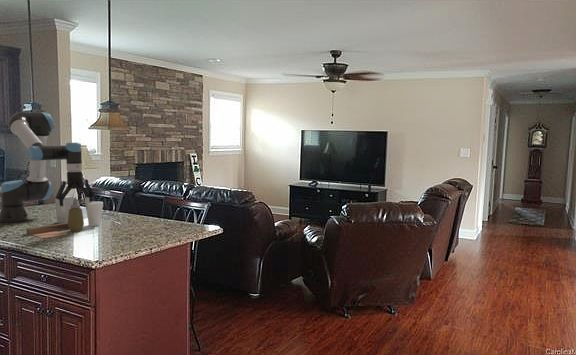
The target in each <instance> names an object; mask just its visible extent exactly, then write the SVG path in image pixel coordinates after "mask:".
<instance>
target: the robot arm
mask: <svg viewBox="0 0 576 355" xmlns="http://www.w3.org/2000/svg"><path fill="white" fill-rule="evenodd" d="M7 125H8V129H9V130H10V132H11V133H12V134H13V135H15V136H17V137H18V138H19V140H20V141H21V142H22V144H24V146H25V147H26V148H27V156H28V159H29V176H28V177H26V180H25V181H26V182H25V181H24V180H22V179H18V180H11V181H6V182H3V183H1V184H0V198H1V199H0V200H1V201H0V202H1V203H0V204H1V207H0V208H1V209H0V223H6V224H8V223H9V224H10V223H11V224H12V223H21V222H25V221H28V220H29V216H28V213H27V210H26V209H25V203H26V202H36V201H39V202H41V201H45V200H48V199H49V198H50V196H52V195H51V194H52V188H53V187H52V183H51V181H49V178H48V177H46V168H47V167H46V166H47V161H57V160H58V161H59V160H65V161H66V171H67V172H66V181H64V180H62V181H60V182H61V183H60V186H59V189H58V191H57V193H56V196H55V197H56V199H59V202H60V206H61V212H65V200H63V199H64V198H65V197H66V196H68V194H69V193H70V191H71V190H72V189H73V190H75V189H80V191H81V192H82V193H83V194H84V195H85V196H86V197H85V199H84V200H85V203H86V204H85V210H86V209H90V205H89V203H91V202H92V199H91V198H92V197H94V195H95V194H94V191H93V190H92V187H91V185H90V184H89V180H88V179H85V178H84V179H83V171H82V170H83V164H82V163H83V160H82V159H83V157H82V156H83V154H82V153H83V152H82V143H81V142H66V144H65V145H47V142H48V141H47V138H48V137H50V134H51V133H52V132H54V128H55V123H54V119H53V118H52V115H51V114H50V113H47V112H42V111H19V112H15V113H14V114H13V115H11V117H9V119H8V124H7ZM83 184H84V185H83Z"/></svg>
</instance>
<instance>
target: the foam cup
mask: <svg viewBox="0 0 576 355" xmlns="http://www.w3.org/2000/svg"><path fill="white" fill-rule="evenodd" d="M84 204H85V205H86V202H85V203H84ZM89 205H90V209H86V208H85V210H86V216H87V222H88V226H90V227H99V226H101V225H102V215H103V207H104V202H103V201H91V203H89Z"/></svg>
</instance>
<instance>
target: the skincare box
mask: <svg viewBox="0 0 576 355" xmlns="http://www.w3.org/2000/svg"><path fill="white" fill-rule="evenodd" d="M54 199H55V215H56V224H61V223H68V215H69V209H71V205H72V204H73V201H74V196H71V195H66V197H65V198H64V199H63V200H65V212H61V206H60V202H59V199H56V196H55V197H54Z"/></svg>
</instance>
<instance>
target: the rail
mask: <svg viewBox="0 0 576 355" xmlns="http://www.w3.org/2000/svg"><path fill="white" fill-rule="evenodd" d="M64 230H70V229H69V227H68V223H56V224H50V225H42V226H36V227H29V228H26V235H27V234H28V236H33V237H37V238H38V239H39V238H40V239H42V238H43V240H47V239H51V238H58V237H62V236H67V235H68V234H67V233H64V232H60V231H64ZM46 238H47V239H46Z"/></svg>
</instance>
